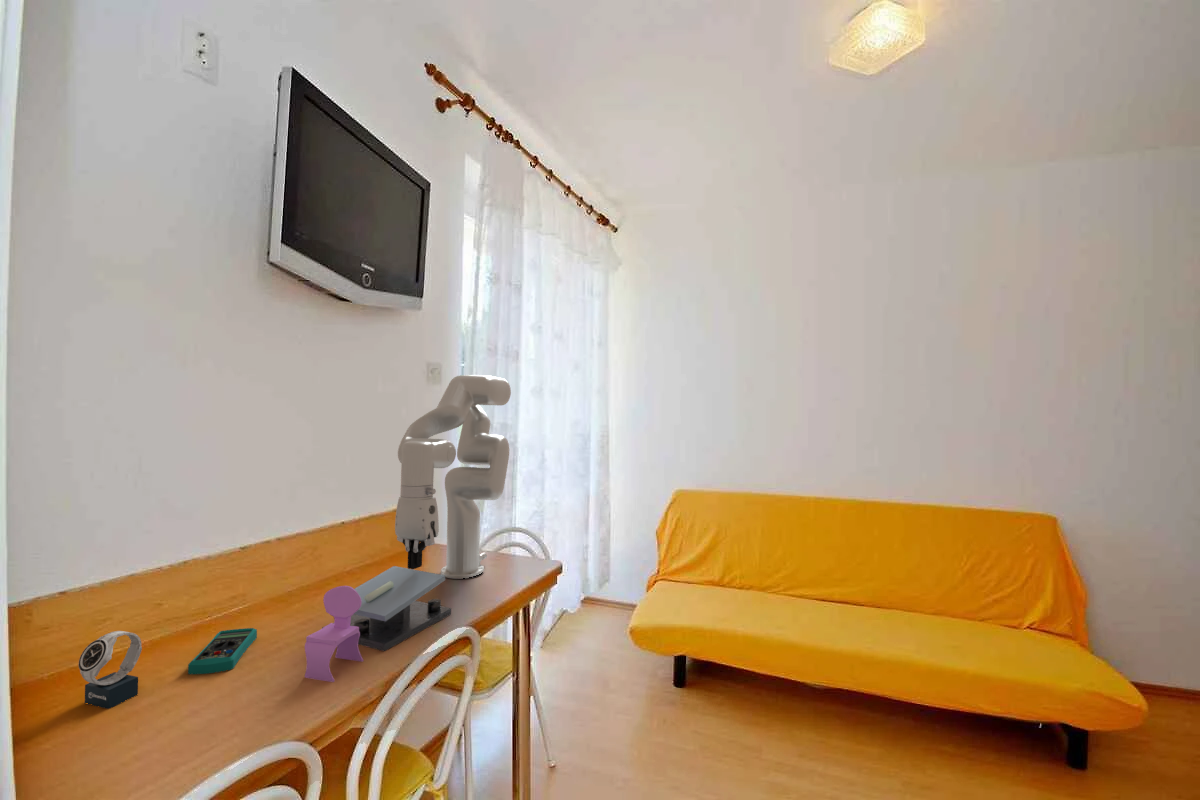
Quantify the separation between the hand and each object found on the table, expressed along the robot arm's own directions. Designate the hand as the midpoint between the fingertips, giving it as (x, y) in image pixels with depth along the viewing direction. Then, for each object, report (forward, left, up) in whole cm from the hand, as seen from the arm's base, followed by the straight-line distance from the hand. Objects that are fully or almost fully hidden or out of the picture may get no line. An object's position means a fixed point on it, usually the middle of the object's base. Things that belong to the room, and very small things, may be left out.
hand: (414, 567), depth 129 cm
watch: (+51, -19, -11) cm, 55 cm away
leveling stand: (+8, 0, -11) cm, 13 cm away
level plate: (+8, 0, -4) cm, 9 cm away
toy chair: (+28, +6, -11) cm, 30 cm away
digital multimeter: (+33, -18, -12) cm, 39 cm away
